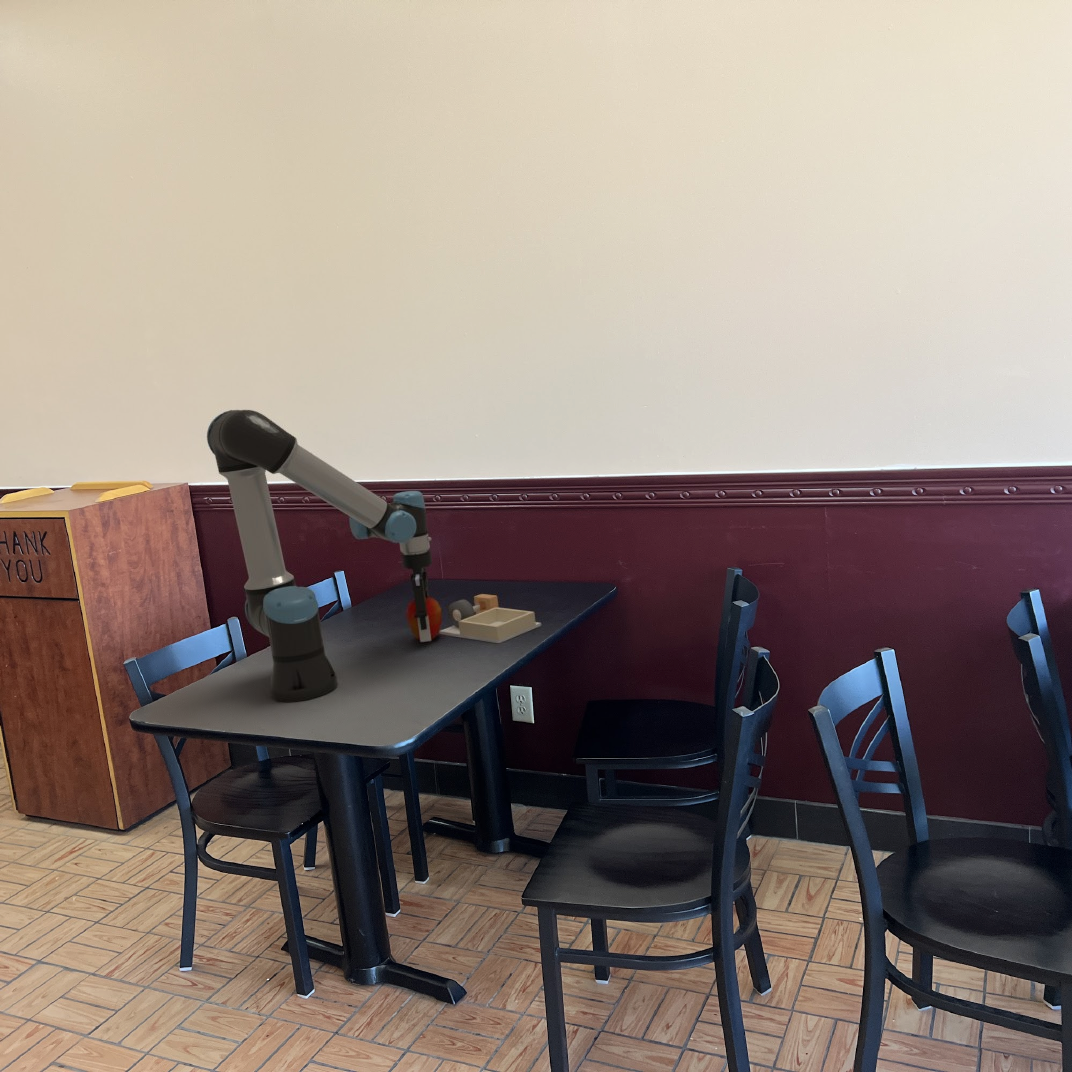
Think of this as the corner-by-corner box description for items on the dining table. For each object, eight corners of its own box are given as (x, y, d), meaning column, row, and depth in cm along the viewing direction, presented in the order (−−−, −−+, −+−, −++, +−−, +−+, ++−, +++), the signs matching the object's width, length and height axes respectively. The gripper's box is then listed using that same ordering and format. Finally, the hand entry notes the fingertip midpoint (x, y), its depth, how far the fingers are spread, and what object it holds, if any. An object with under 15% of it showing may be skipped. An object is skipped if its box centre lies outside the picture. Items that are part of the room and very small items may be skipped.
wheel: (467, 629, 255) (464, 603, 254) (449, 626, 260) (446, 601, 259) (489, 621, 261) (486, 595, 260) (471, 618, 266) (468, 593, 265)
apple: (437, 644, 248) (431, 599, 246) (404, 645, 251) (398, 600, 248) (449, 633, 257) (444, 589, 255) (418, 634, 259) (412, 591, 257)
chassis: (498, 643, 243) (495, 616, 242) (439, 634, 258) (436, 608, 257) (541, 625, 255) (538, 600, 254) (482, 617, 270) (478, 593, 268)
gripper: (428, 558, 239) (439, 645, 243) (432, 542, 260) (443, 622, 264) (397, 561, 239) (409, 649, 243) (404, 545, 260) (415, 626, 264)
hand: (426, 635), depth 254 cm, fingers closed on apple, 9 cm apart
